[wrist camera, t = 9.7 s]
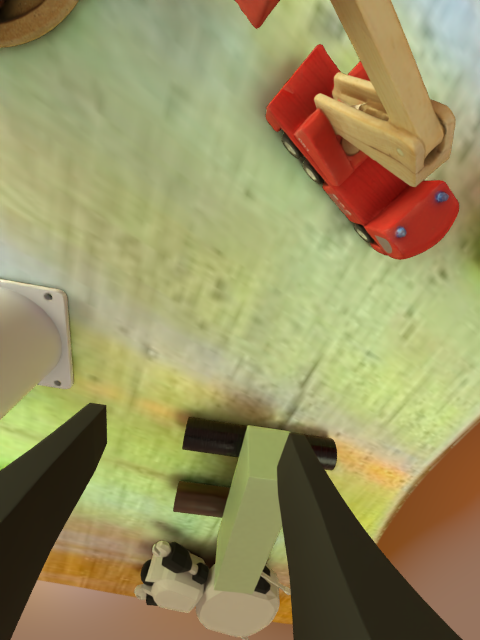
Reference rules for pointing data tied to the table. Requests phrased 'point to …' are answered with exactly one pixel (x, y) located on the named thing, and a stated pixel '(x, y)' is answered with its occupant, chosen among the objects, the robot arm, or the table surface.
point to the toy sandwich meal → (30, 19)
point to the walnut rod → (201, 499)
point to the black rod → (231, 437)
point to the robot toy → (207, 592)
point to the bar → (250, 512)
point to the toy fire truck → (369, 130)
